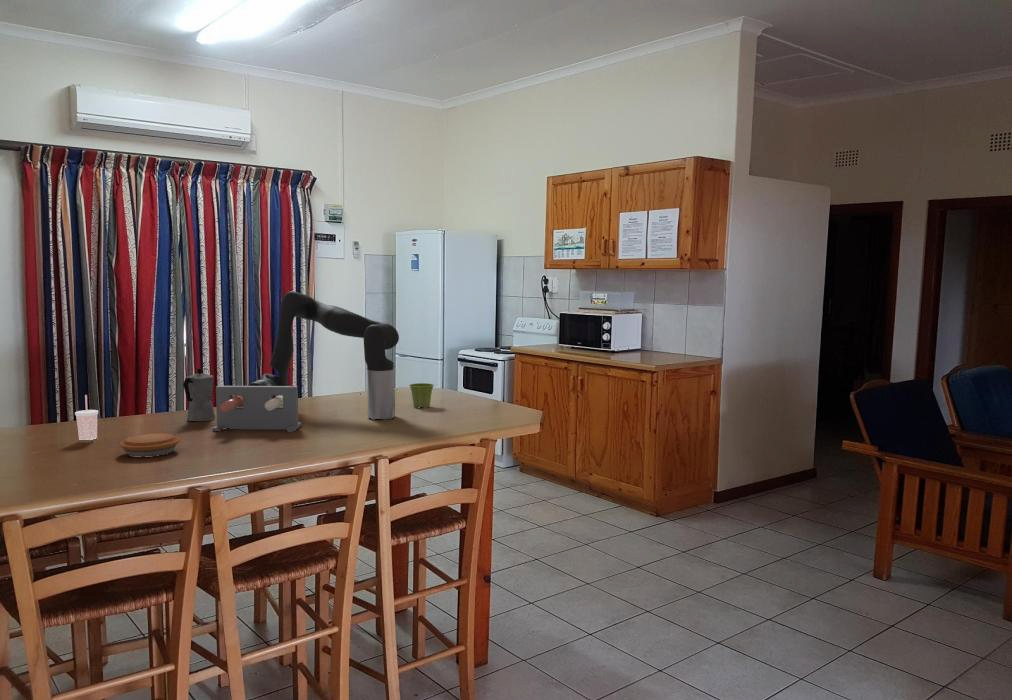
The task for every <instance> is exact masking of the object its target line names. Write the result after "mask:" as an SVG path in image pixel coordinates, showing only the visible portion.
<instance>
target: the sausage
mask: <svg viewBox="0 0 1012 700" xmlns="http://www.w3.org/2000/svg"><path fill="white" fill-rule="evenodd" d="M233 408H243V395H235V396H234V398H233V397H232V399H231V400H228V401H226V402H224V403H222V404H221V405H220V410H221V411H222V412H227V411H229V410H231V409H233Z"/></svg>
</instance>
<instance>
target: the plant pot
mask: <svg viewBox="0 0 1012 700" xmlns="http://www.w3.org/2000/svg"><path fill="white" fill-rule="evenodd" d="M408 386H409V388H410V390H411V396H412V403H413V408H417V407H426V408H430V407H429V406H431V399H432V393H433V392H432V391H433V388H434V386H435V384H433V383H425V382H424V383H422V382H421V383H410V384H408Z"/></svg>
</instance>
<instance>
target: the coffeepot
mask: <svg viewBox="0 0 1012 700" xmlns="http://www.w3.org/2000/svg"><path fill="white" fill-rule="evenodd" d="M196 371H197V373H195V374H192V375H191V374H190V375H188V376H186V377H185V378H184V381H183V383H182V384H183V385H182V386H183V389H184V393H185V397H186V399H187V402H189V403H188V410H187V418H186V421H188V420H189V421H188V422H190V421H205V422H207V421H206V420H211V419H214V418H216V414H215V411H214V406H213V401H212V393H213V389H214V387H213V386H214V379H215V376H214V375H212V374H207V373H206V374H205V373H202V372H203V368H197V369H196ZM214 420H215V419H214ZM211 421H212V420H211Z"/></svg>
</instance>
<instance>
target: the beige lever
mask: <svg viewBox="0 0 1012 700" xmlns="http://www.w3.org/2000/svg"><path fill="white" fill-rule="evenodd" d="M279 406H282V407H283V396H274V398H271V400H270V401H268V402H266V403H265V409H266V410H268V411H271V410H273V409H275V408H279Z"/></svg>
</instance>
